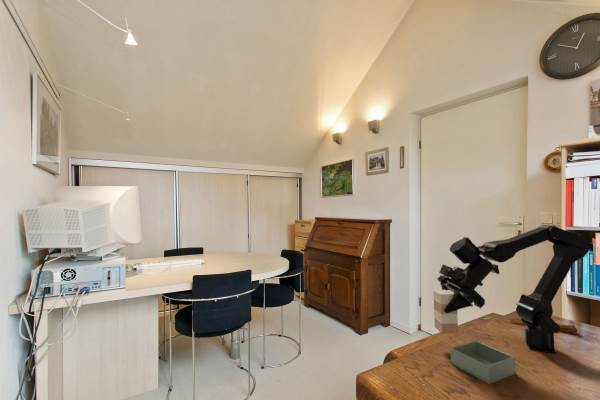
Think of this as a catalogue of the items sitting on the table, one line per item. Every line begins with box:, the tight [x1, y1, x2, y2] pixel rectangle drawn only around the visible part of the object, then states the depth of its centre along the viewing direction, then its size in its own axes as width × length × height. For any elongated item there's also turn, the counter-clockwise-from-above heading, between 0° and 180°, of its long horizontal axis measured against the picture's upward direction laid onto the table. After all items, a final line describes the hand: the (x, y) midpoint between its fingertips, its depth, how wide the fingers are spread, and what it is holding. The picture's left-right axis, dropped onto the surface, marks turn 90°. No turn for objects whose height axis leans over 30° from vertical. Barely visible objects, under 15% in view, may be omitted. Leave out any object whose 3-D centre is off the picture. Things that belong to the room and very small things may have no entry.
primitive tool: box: [508, 317, 578, 336], centre depth 107 cm, size 19×6×4 cm, turn 51°
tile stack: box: [432, 289, 459, 334], centre depth 92 cm, size 5×5×12 cm
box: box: [449, 340, 517, 385], centre depth 80 cm, size 11×11×4 cm
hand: (441, 309), depth 92 cm, fingers closed on tile stack, 5 cm apart
